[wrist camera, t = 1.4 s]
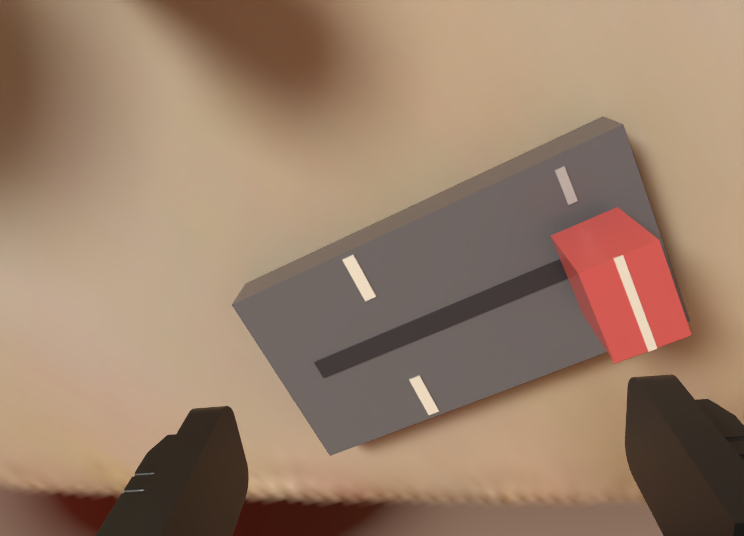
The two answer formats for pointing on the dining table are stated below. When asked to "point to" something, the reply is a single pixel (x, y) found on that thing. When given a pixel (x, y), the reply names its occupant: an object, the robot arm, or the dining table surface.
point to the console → (445, 293)
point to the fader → (622, 284)
